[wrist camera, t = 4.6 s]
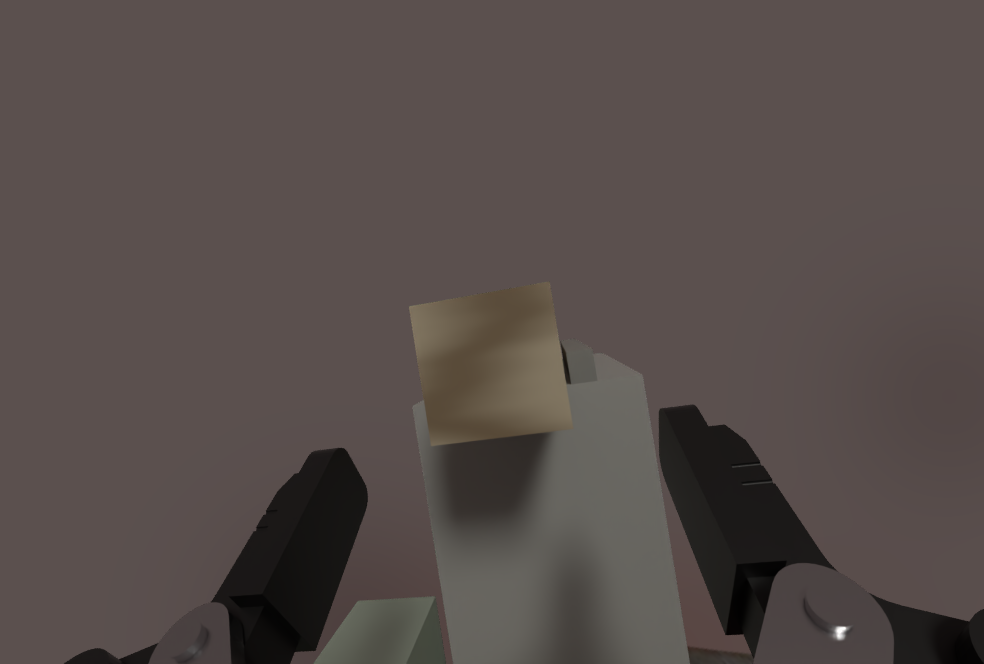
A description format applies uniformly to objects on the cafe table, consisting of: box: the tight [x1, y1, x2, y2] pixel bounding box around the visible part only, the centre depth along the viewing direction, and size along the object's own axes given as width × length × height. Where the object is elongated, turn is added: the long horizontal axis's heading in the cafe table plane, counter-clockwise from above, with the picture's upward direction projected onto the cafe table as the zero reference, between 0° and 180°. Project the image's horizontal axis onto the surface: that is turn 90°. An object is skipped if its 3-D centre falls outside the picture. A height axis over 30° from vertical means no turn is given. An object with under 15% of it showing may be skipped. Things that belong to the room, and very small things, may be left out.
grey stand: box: [413, 339, 690, 664], centre depth 26 cm, size 11×15×34 cm
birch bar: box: [409, 282, 573, 446], centre depth 22 cm, size 4×23×4 cm, turn 171°
